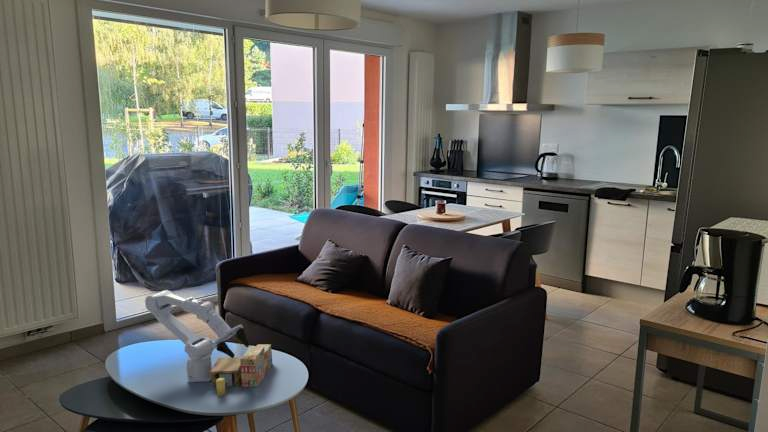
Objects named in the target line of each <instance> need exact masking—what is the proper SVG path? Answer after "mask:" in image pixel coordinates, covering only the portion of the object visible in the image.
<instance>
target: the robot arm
mask: <svg viewBox="0 0 768 432" xmlns="http://www.w3.org/2000/svg"><path fill="white" fill-rule="evenodd" d="M144 300H145V301H144V304H145V308H146V310H147V311H148V312H150V314H151V315H153V316H154V317H155V319H156V320H157V321H158V322H159V323H160V324H161V325H163V326H164V327H165V328H166V329H167V330H168V331H169V332H170V333H172V334H173V335H174V336H175V337H176V338H177V339H178V340H180V341H181V342H182V343H183V344H184V345H185V346H184V352H185V353H186V354H187V357H188V359H187V362H186V375H187V383H196V382H198V383H200V382H210V381H212V374H210V371H211V369H212V368H213V365H212V355H213V353H212V352H213V351H214V350H216V351H217V352H220V353H223V354H225V355H227V356H228V357H231V358H233V357H236V356H235V353H234V352H233V351H232V350H231V349H230V347H229V346H228V345H227V344H228V343H227V342H226V341H227V340H229V339H230V338H232V337H233V336H235V338H236V339H237V340H239V341H240V342H241V343H242V344H243V345H244V346H245V347H246V348H249V347H250V342H249V341H248V339H247V337H246V333H245V329H244V326H243V324H241V323H240V324H238V325H236V326H234V327H233V328H231V327H230V325H229V324H228V323H227V322H226V321H225V320H224V319H223V317H222V316H221V315H220V314H219V313H218V312H217V311H216V305H215V304H214V303H213V302H212V301H211V300H207V301H203V300H199V299H195V298H194V297H192V296H190V297H187V298H184V297H181V296H179V295H176V294H174V293H173V292H172V291H171V290H168V289H163V290H162V291H159V292H156V293H153V294H150V295H147V296H146V297H145V299H144ZM173 306H175V307H181V308H182V310H183V312H186V313H189V314H193V315H195V316H196V318H197V319H198V320H201V321H203V323H205V324H207V326H208V327H209V328H210V329H211V330H212V332H213V333H215V335H216V336H217V339H216V340H215V341H213V340H211V339H210V338H207V337H206V336H205V335H200V334H196V333H194V332H193V331H192V330H191V329H189V328H188V327H187V326H186V325H185V324H184V323H183V322H181V321H180V319H178V318H177V317H176V316H174V315H173V314H172V312H171V311H172V310H173Z"/></svg>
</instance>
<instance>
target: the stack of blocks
mask: <svg viewBox="0 0 768 432" xmlns="http://www.w3.org/2000/svg"><path fill="white" fill-rule="evenodd" d="M240 357H241V358H240V364H241V376H242V379H241V387H242V388H258V386H259V385H260V383H261V382H262V381H263V380H264V377H265V375H266V374H267V372H268V371H269V370H270V368H271V367H272V365H273V353H272V344H266V343H265V344H264V343H263V344H260V343H259V344H256V346H254V345H253V346H252V345H251V346H250V345H249V346H248V349H247V350H246V351H245V353H244V354H243V355H242V356H240Z"/></svg>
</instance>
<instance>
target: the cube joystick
mask: <svg viewBox="0 0 768 432" xmlns="http://www.w3.org/2000/svg"><path fill="white" fill-rule="evenodd" d="M234 384H235V380H234V373H222V374H219V378H218V379H217V380H216V395H217V396H218V397H223V396H225V395H226V394H227V393H226V392H227V391H226V387H227V386H233V385H234Z"/></svg>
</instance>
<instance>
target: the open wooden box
mask: <svg viewBox="0 0 768 432" xmlns="http://www.w3.org/2000/svg"><path fill="white" fill-rule="evenodd" d="M241 357H242V356H234V357H233V358H231V357H230V356H228V357H218V358H217V359H216V361H215V363H214V365H212V369H211V371H210V374H212V379H211V381H212V388H217V386H216V380H217V379H218V378H219V374H222V373H234V380H235V381H234V387H239V385H240V383H241V382H242V376H241V364H240V358H241Z"/></svg>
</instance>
